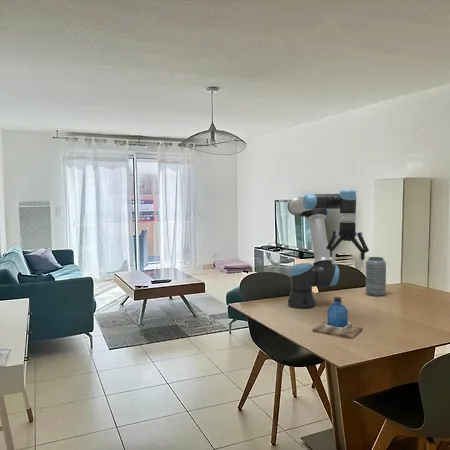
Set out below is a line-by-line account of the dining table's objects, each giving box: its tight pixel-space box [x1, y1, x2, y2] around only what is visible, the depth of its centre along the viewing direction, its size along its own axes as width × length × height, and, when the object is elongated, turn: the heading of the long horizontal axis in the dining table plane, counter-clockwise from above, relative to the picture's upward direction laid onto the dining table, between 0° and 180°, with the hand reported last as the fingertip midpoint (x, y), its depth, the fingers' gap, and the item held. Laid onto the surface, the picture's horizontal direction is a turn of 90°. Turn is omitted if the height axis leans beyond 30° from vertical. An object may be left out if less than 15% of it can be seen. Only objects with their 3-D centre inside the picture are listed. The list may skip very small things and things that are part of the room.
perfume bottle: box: [327, 296, 349, 327], centre depth 186 cm, size 6×6×12 cm
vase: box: [365, 256, 387, 297], centre depth 256 cm, size 12×12×23 cm
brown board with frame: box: [311, 320, 363, 340], centre depth 187 cm, size 18×14×3 cm
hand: (346, 265), depth 203 cm, fingers open, 13 cm apart
